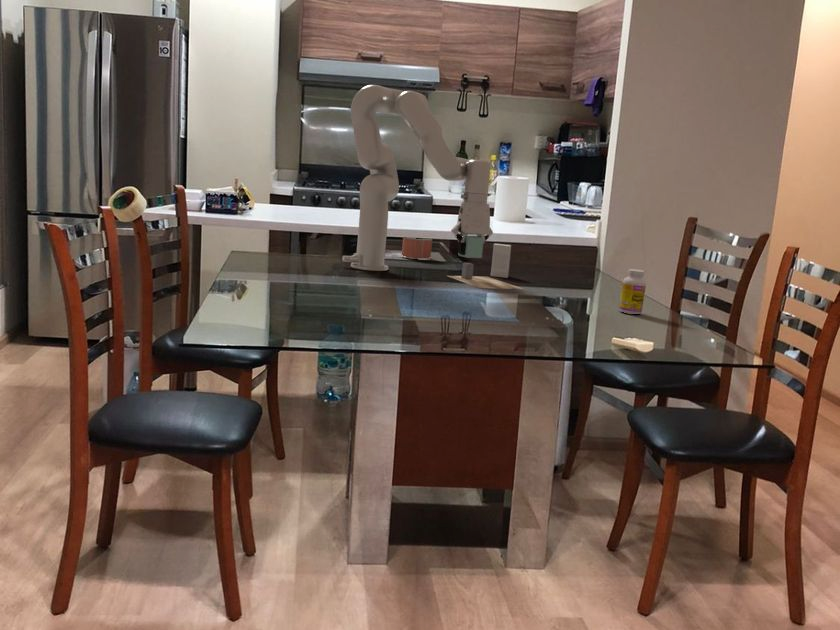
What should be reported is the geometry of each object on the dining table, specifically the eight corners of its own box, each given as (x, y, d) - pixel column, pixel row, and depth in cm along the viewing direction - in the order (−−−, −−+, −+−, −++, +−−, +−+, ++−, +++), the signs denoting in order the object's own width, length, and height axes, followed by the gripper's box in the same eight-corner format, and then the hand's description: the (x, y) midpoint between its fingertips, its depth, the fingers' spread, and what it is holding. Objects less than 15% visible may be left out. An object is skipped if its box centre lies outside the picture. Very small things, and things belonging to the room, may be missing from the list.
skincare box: (507, 279, 304) (511, 245, 302) (507, 281, 300) (511, 246, 297) (490, 277, 304) (493, 243, 302) (489, 279, 300) (493, 244, 298)
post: (465, 279, 286) (466, 264, 285) (461, 277, 288) (462, 262, 287) (472, 279, 287) (473, 264, 286) (468, 278, 289) (469, 262, 288)
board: (480, 292, 271) (480, 288, 271) (445, 279, 290) (445, 275, 290) (523, 292, 278) (523, 288, 278) (486, 280, 297) (487, 276, 297)
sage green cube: (466, 257, 283) (468, 237, 281) (458, 255, 287) (460, 234, 286) (481, 258, 285) (483, 237, 284) (472, 255, 290) (474, 235, 289)
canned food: (412, 255, 344) (415, 224, 342) (436, 259, 338) (439, 228, 336) (395, 256, 335) (398, 225, 333) (419, 261, 329) (422, 229, 327)
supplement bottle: (628, 315, 255) (635, 271, 253) (613, 310, 261) (619, 268, 258) (646, 315, 258) (652, 272, 256) (631, 310, 264) (637, 268, 262)
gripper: (458, 198, 276) (452, 255, 279) (504, 201, 284) (498, 257, 287) (446, 196, 282) (441, 252, 285) (492, 199, 290) (486, 253, 293)
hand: (470, 254), depth 286 cm, fingers closed on sage green cube, 5 cm apart
